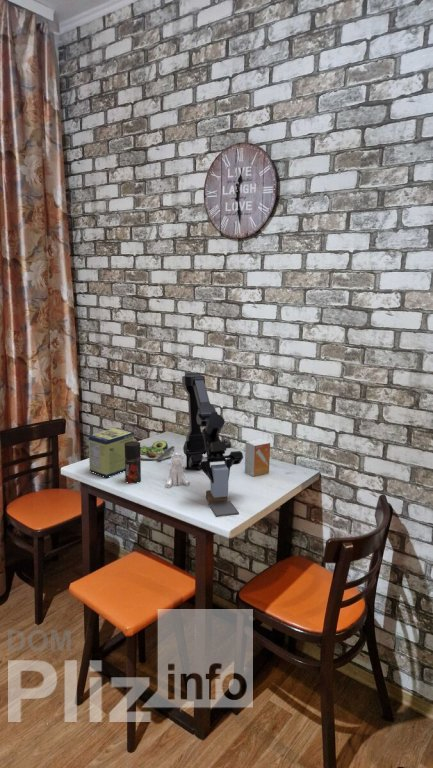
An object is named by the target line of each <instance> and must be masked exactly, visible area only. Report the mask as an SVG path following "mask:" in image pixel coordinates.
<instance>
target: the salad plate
mask: <svg viewBox="0 0 433 768" xmlns="http://www.w3.org/2000/svg"><path fill="white" fill-rule="evenodd" d="M174 449H175V446H173V445H172V446H169V445H168V443H167V441H165V440H157V441H155V442H153V443H152V445H142V446H141V445H140V453H141V461H149V462H150V461H151V462H152V461H163V460H165V459H169V458H171V457H170V455H174V451H173V450H174ZM144 456H148V457H144Z"/></svg>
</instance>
